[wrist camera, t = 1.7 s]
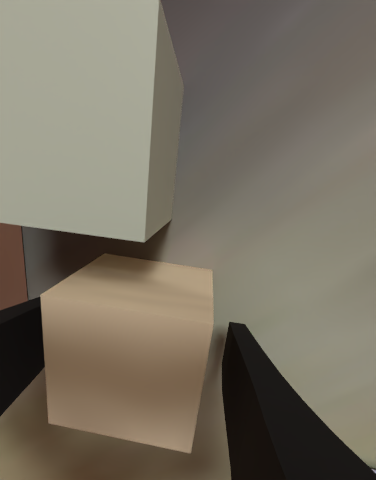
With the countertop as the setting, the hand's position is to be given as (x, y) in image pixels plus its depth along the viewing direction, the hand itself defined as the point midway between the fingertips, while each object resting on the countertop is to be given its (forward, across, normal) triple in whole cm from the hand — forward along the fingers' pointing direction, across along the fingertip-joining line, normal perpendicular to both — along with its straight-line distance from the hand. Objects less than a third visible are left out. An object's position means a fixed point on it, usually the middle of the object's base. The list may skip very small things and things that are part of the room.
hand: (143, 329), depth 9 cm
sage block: (+2, +2, -7) cm, 7 cm away
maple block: (+2, 0, 0) cm, 2 cm away
